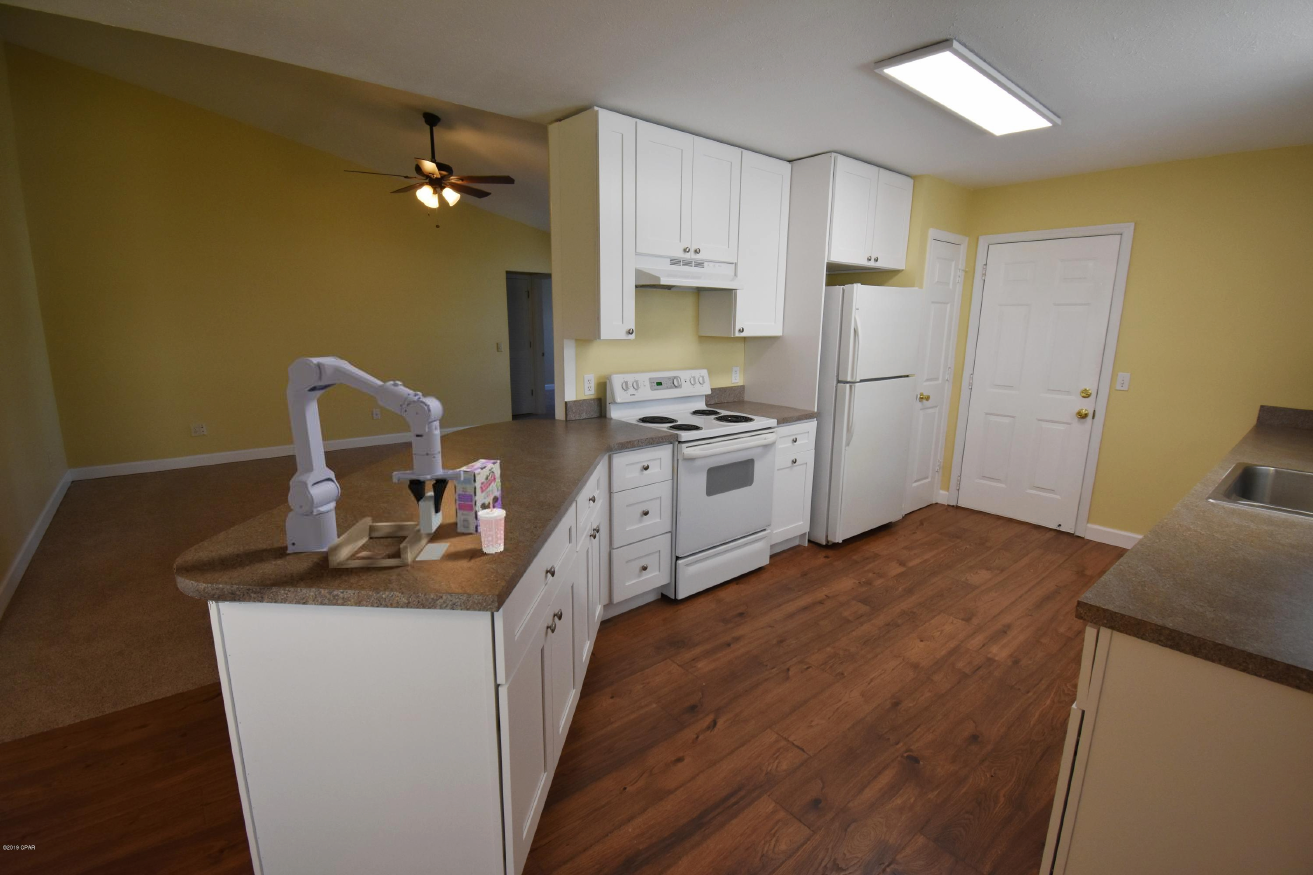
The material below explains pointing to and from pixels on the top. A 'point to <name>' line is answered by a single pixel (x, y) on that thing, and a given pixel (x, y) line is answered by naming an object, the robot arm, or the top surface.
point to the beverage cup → (492, 528)
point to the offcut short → (371, 556)
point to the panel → (429, 514)
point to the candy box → (476, 493)
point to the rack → (368, 529)
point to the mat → (432, 551)
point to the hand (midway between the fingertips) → (430, 512)
